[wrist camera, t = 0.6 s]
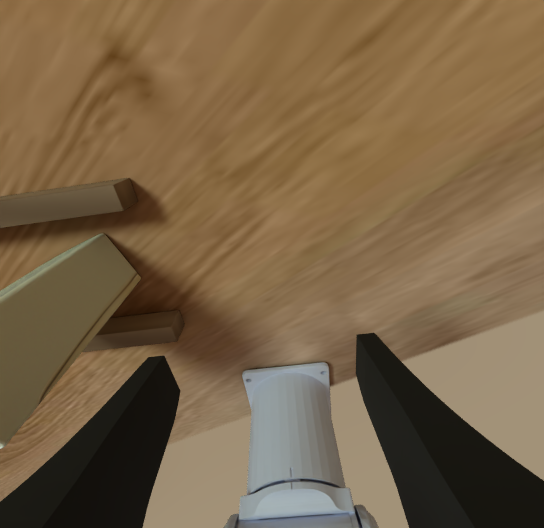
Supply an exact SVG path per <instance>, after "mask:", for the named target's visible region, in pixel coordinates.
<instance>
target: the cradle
mask: <svg viewBox="0 0 544 528" xmlns="http://www.w3.org/2000/svg"><path fill="white" fill-rule="evenodd" d="M136 202H138V200H137V197H136V195H135V192H134V189H133V187H132V184H131V181H130V179H129V178H125V179H118V180H112V181H105V182H98V183H91V184H84V185H77V186H71V187H64V188H57V189H50V190H43V191H36V192H30V193H23V194H16V195H9V196H2V197H0V228H3V227H10V226H17V225H25V224H32V223H39V222H46V221H53V220H60V219H68V218H75V217H82V216H89V215H96V214H103V213H111V212H118V211H124V210H125V209H127V208H129V207H130V206H132V205H133V204H135V203H136ZM183 327H184V322H183V319H182V316H181V314H180V311H179V310H175V311H167V312H158V313H150V314H141V315H133V316H124V317H116V318H109V319H108V321H107V322H106V323H105V324H104V326H103V327H102V328H101V329H100V331H99V332H98V333H97V334H96V335H95V337H94V338H93V339H92V340H91V342H90V343H89V344H88V345H87V346H86V348H85V349H84V350H83V351H82V352H88V351H97V350H106V349H115V348H124V347H133V346H142V345H151V344H160V343H169V342H177V341H178V339H179V336H180V334H181V332H182V329H183Z"/></svg>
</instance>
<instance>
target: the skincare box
mask: <svg viewBox="0 0 544 528" xmlns="http://www.w3.org/2000/svg"><path fill="white" fill-rule="evenodd" d="M140 280H141V277H140V276H139V275H138V273H137V272H136V271H135V270H134V268H133V267H132V266H131V265H130V264H129V262H128V261H127V260H126V259H125V258H124V256H123V255H122V254H121V253H120V252H119V250H118V249H117V248H116V247H115V246H114V245H113V243H112V242H111V241H110V240H109V239H108V237H107V236H106V235H105V234H99V235H97V236H95V237H93V238H91V239H89V240H87V241H85V242H83V243H81V244H79V245H77V246H75V247H73V248H71V249H69V250H68V251H66V252H64V253H62V254H60V255H58V256H57V257H55V258H53V259H51V260H50V261H48V262H46V263H44V264H43V265H41V266H39V267H38V268H36V269H35V270H33V271H32V272H30V273H28V274H27V275H25V276H24V277H22V278H20V279H19V280H17V281H16V282H14V283H12V284H11V285H9V286H8V287H6V288H4V289H3V290H1V291H0V449H1V448H3V447H4V446H6V445H7V444H8V442H9V441H10V439H11V438H12V437H13V436H14V435H15V433H16V432H17V431H18V430H19V429H20V427H21V426H22V425H23V424H24V422H25V421H26V420H27V419H28V418H29V416H30V415H31V414H32V413H33V411H34V410H35V409H36V408H37V406H38V405H39V404H40V403H41V401H42V400H43V399H44V398H45V397H46V395H47V394H48V393H49V392H50V390H51V389H52V388H53V387H54V386H55V384H56V383H57V382H58V381H59V380H60V378H61V377H62V376H63V375H64V373H65V372H66V371H67V370H68V368H69V367H70V366H71V365H72V364H73V362H74V361H75V360H76V359H77V357H78V356H79V355H80V354H81V352H82V351H83V350H84V349H85V348H86V346H87V345H88V344H89V343H90V342H91V340H92V339H93V338H94V337H95V335H96V334H97V333H98V332H99V331H100V329H101V328H102V327H103V326H104V324H105V323H106V322H107V321H108V319H109V318H110V317H111V316H112V315H113V313H114V312H115V311H116V310H117V308H118V307H119V306H120V305H121V304H122V302H123V301H124V300H125V299H126V297H127V296H128V295H129V294H130V292H131V291H132V290H133V289H134V287H135V286H136V285H137V284H138V282H139V281H140Z"/></svg>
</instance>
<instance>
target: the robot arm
mask: <svg viewBox="0 0 544 528" xmlns="http://www.w3.org/2000/svg"><path fill="white" fill-rule="evenodd" d="M356 375H357V379H358V382H359V386H360V390H361V394H362V397H363V401H364V403H365V406H366V409H367V411H368V414H369V416H370V419H371V421H372V424H373V427H374V429H375V431H376V434H377V437H378V439H379V442H380V444H381V447H382V449H383V452H384V454H385V457H386V460H387V462H388V465H389V467H390V469H391V472H392V475H393V478H394V481H395V483H396V486H397V489H398V493H399V496H400V499H401V502H402V506H403V509H404V512H405V515H406V519H407V522H408V525H409V528H544V481H543V480H542V479H540V478H539V477H538V476H536V475H534V474H533V473H532V472H530V471H529V470H528V469H526V468H525V467H523V466H522V465H521V464H519V463H518V462H516V461H515V460H514V459H512V458H511V457H510V456H508V455H507V454H506V453H505V452H503V451H502V450H501V449H499V448H498V447H496V446H495V445H494V444H493V443H492V442H490V441H489V440H487V439H486V438H485V437H484V436H483V435H481V434H480V433H479V432H478V431H476V430H475V429H474V428H473V427H471V426H470V425H469V424H468V423H467V422H465V421H464V420H463V419H462V418H461V417H460V416H458V415H457V414H456V413H455V412H454V411H453V410H451V409H450V408H449V407H448V406H447V405H446V404H445V403H444V402H442V401H441V400H440V399H439V398H438V397H437V396H436V395H434V393H432V392H431V391H430V390H429V389H428V388H427V387H426V386H425V385H424V384H423V383H422V382H421V381H420V380H419V379H418V378H417V377H416V376H415V375H414V374H413V373H412V372H411V371H410V370H409V369H408V368H407V367H406V366H405V365H404V364H403V363H402V362H401V361H400V360H399V359H398V358H397V357H396V356H395V355H394V354H393V353H392V352H391V351H390V349H389V348H388V347H387V346H386V345H385V344H384V343H383V342H382V341H381V339H380V338H379V337H378V336H377V335H376V334H375V333H368V334H359V335H357V345H356ZM242 377H243V381H244V385H245V388H246V392H247V395H248V399H249V403H250V406H251V410H252V413H251V431H250V448H249V449H250V450H249V467H248V483H247V495H245V496H241V498H240V509H239V514H233V515H231V516H230V518H229V519H228V522H227V523H226V525H225V526H224V528H378V525H377V522H376V521H375V519H374V517H373V516H372V515H371V514H370V513H369V512H368V511H367V510H366V508H365V507H364V506H363V505H355V506H354V505H353V500H352V496H351V492H350V488H346V487H345V482H344V478H343V473H342V468H341V463H340V458H339V454H338V449H337V444H336V439H335V434H334V429H333V425H332V420H331V403H330V382H329V367H328V364H327V363H325V362H321V363H312V364H302V365H292V366H283V367H273V368H263V369H254V370H246V371H244V372H243V375H242ZM179 395H180V389H179V387H178V385H177V383H176V380H175V378H174V376H173V374H172V372H171V369H170V367H169V365H168V363H167V361H166V358H165V356H156V357H148V358H147V360H146V361H145V362H144V363H143V364H142V365H141V366H140V367H139V368H138V369H137V370H136V371H135V372H134V373H133V374H132V376H131V377H130V378H129V379H128V380H127V381H126V382H125V383H124V384H123V385H122V387H121V388H120V389H119V390H118V391H117V392H116V393H115V394H114V395H113V396H112V397H111V398H110V399H109V401H108V402H107V403H106V404H105V405H104V406H103V407H102V408H101V409H100V410H99V411H98V412H97V413H96V414H95V415H94V416H93V417H92V418H91V419H90V420H89V421H88V422H87V423H86V424H85V425H84V426H83V427H82V428H81V429H80V430H79V431H78V432H77V433H76V434H75V435H74V436H73V437H72V438H71V439H70V440H69V441H68V442H67V443H66V444H65V445H64V446H63V447H62V448H61V449H60V450H59V451H58V452H57V453H56V454H55V455H54V456H53V457H51V458H50V459H49V460H48V461H47V462H46V463H45V464H44V465H43V466H42V467H40V468H39V469H38V470H37V471H36V472H35V473H34V474H33V475H31V476H30V477H29V478H28V479H27V480H26V481H25V482H23V483H22V484H21V485H20V486H19V487H18V488H16V489H15V490H14V491H13V492H12V493H10V494H9V495H8V496H7V497H6V498H4V499H3V500H2V501H1V502H0V528H142V527H143V523H144V519H145V514H146V510H147V506H148V503H149V499H150V496H151V492H152V489H153V486H154V483H155V480H156V477H157V473H158V470H159V467H160V464H161V461H162V458H163V455H164V452H165V449H166V446H167V443H168V439H169V436H170V433H171V430H172V427H173V424H174V420H175V416H176V411H177V406H178V401H179Z"/></svg>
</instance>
